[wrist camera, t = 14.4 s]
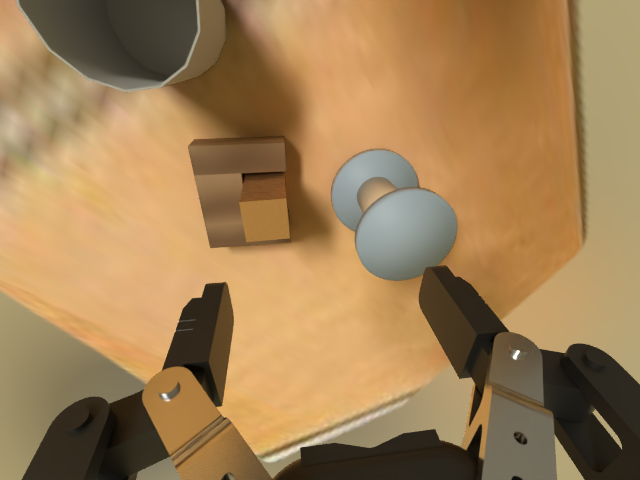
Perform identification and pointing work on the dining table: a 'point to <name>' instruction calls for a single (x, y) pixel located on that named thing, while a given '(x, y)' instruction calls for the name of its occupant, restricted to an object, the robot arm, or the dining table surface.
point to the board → (231, 182)
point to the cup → (131, 38)
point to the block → (264, 206)
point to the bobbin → (392, 215)
